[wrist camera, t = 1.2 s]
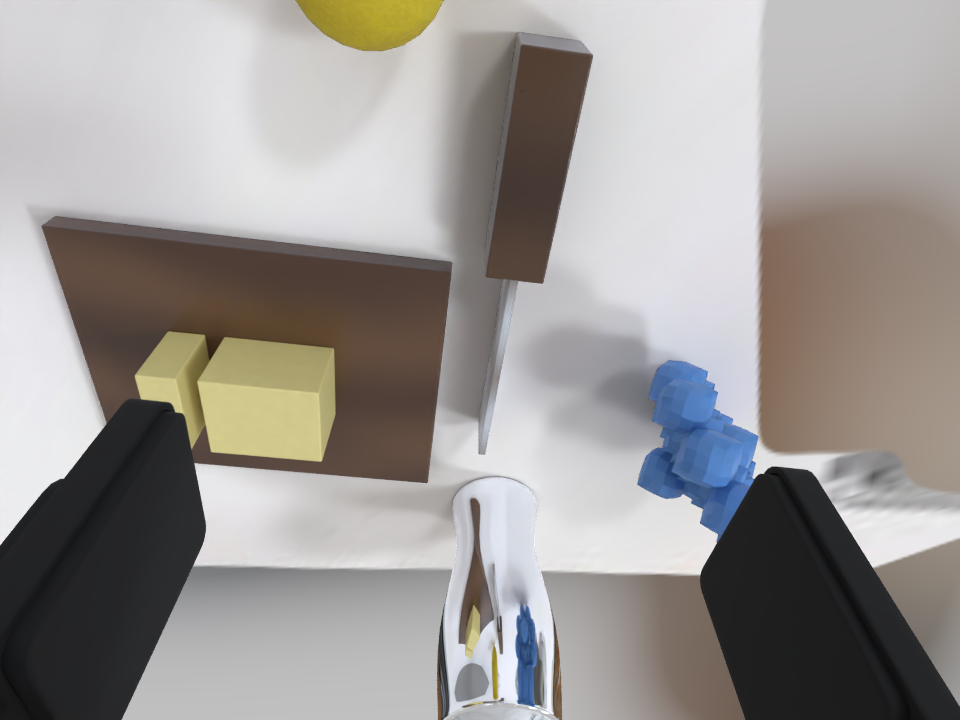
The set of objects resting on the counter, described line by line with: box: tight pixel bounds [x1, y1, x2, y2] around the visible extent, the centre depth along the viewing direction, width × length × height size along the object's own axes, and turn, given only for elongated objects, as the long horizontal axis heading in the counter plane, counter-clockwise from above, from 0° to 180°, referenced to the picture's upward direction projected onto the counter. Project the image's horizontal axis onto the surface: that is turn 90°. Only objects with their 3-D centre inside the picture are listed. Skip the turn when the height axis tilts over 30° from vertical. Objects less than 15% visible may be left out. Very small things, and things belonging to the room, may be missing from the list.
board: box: [42, 217, 452, 483], centre depth 35 cm, size 16×20×1 cm
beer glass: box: [437, 477, 562, 720], centre depth 37 cm, size 7×7×15 cm
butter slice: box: [135, 331, 210, 449], centre depth 32 cm, size 5×2×4 cm, turn 173°
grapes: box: [638, 360, 758, 543], centre depth 32 cm, size 12×7×12 cm, turn 33°
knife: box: [479, 32, 593, 455], centre depth 30 cm, size 22×3×3 cm, turn 173°
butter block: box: [197, 337, 336, 462], centre depth 33 cm, size 5×6×4 cm
